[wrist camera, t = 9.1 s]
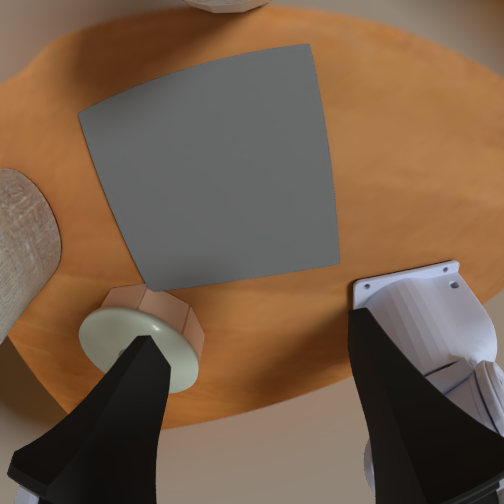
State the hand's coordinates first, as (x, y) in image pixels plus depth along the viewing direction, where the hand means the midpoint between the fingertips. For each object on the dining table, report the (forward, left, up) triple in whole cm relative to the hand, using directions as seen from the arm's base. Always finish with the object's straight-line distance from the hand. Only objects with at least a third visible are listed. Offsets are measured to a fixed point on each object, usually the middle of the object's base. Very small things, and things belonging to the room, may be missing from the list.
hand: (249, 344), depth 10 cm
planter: (+20, -4, -10) cm, 23 cm away
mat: (+2, -3, -10) cm, 11 cm away
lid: (+11, +8, -6) cm, 15 cm away
